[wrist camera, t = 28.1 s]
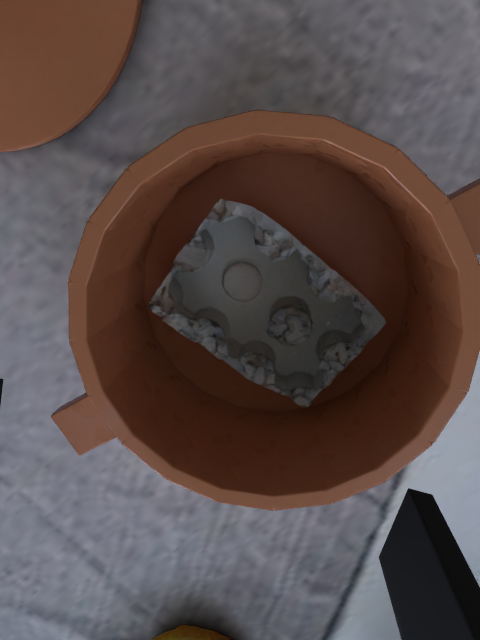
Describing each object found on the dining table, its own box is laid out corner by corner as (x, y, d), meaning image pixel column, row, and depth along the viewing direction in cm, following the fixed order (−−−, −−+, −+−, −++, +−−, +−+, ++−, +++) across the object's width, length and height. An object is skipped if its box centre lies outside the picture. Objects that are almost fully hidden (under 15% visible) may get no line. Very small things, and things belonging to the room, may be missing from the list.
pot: (46, 260, 27) (-57, 290, 19) (384, 41, 22) (442, -46, 14) (190, 472, 30) (154, 576, 22) (513, 323, 25) (621, 386, 17)
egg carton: (157, 288, 26) (134, 304, 22) (236, 183, 24) (225, 182, 20) (296, 397, 27) (297, 431, 23) (383, 306, 25) (400, 327, 21)
